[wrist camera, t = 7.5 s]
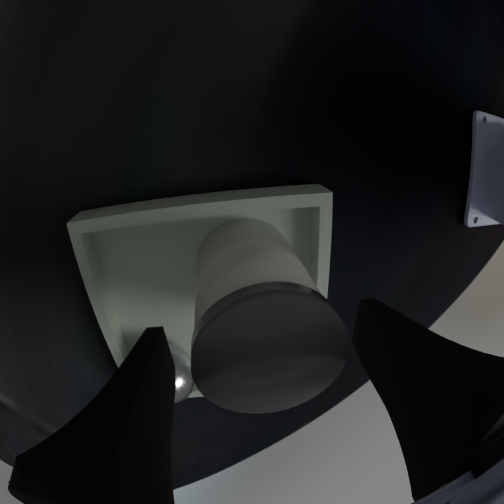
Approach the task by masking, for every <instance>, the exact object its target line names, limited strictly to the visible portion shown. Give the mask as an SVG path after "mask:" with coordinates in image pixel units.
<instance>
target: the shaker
mask: <svg viewBox="0 0 504 504" xmlns="http://www.w3.org/2000/svg"><path fill="white" fill-rule="evenodd" d="M349 350H350V339H349V334H348V331H347V329H346V327H345V325H344V323H343V322H342V320H341V319H340V317H339V315H338V314H337V312H336V311H335V309H334V308H333V306H332V305H331V303H330V302H329V301H328V300H327V299H326V298H325V297H324V296H323V295H322V294H321V293H320V291H319V289H318V288H317V286H316V285H315V283H314V281H313V280H312V278H311V277H310V275H309V274H308V272H307V270H306V269H305V267H304V266H303V264H302V263H301V261H300V260H299V258H298V256H297V255H296V253H295V252H294V250H293V249H292V247H291V246H290V244H289V243H288V241H287V239H286V238H285V237H284V235H283V234H282V233H281V232H280V231H279V230H278V229H277V228H275V227H274V226H272V225H271V224H269V223H267V222H264V221H261V220H257V219H237V220H233V221H229V222H227V223H224V224H222V225H221V226H219V227H217V228H216V229H214V230H213V231H212V232H211V233H210V234H209V235H208V236H207V237H206V238H205V240H204V241H203V243H202V245H201V246H200V249H199V251H198V255H197V261H196V283H195V318H194V332H193V335H192V340H191V375H192V379H193V381H194V384H195V385H196V387H197V389H198V390H199V391H200V393H201V394H202V395H203V396H204V397H206V398H207V399H208V400H209V401H211V402H212V403H214V404H216V405H218V406H220V407H222V408H225V409H228V410H232V411H236V412H242V413H254V414H255V413H270V412H276V411H281V410H285V409H288V408H291V407H294V406H297V405H299V404H302V403H304V402H306V401H308V400H310V399H311V398H313V397H315V396H316V395H318V394H319V393H321V392H322V391H323V390H325V389H326V388H327V387H328V386H329V385H330V384H331V383H332V382H333V381H334V380H335V379H336V378H337V376H338V375H339V374H340V372H341V371H342V369H343V368H344V366H345V364H346V361H347V358H348V355H349Z"/></svg>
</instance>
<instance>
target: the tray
mask: <svg viewBox="0 0 504 504" xmlns="http://www.w3.org/2000/svg"><path fill="white" fill-rule="evenodd" d="M332 205H333V192H331V191H330V190H328V189H326V188H325V187H323V186H322V185H320V184H308V185H291V186H277V187H264V188H252V189H241V190H230V191H221V192H211V193H202V194H193V195H185V196H177V197H169V198H162V199H154V200H147V201H140V202H134V203H127V204H121V205H114V206H108V207H102V208H97V209H91V210H85V211H81V212H79V213H78V214H77V215H76V216H74V217H73V218H72V219H71V220H70V221H69V222H67V227H68V231H69V235H70V239H71V242H72V246H73V249H74V253H75V256H76V260H77V263H78V266H79V269H80V273H81V276H82V279H83V282H84V285H85V288H86V291H87V293H88V296H89V299H90V302H91V305H92V307H93V310H94V312H95V315H96V318H97V320H98V323H99V325H100V328H101V330H102V333H103V335H104V337H105V340H106V342H107V344H108V347H109V349H110V351H111V353H112V356H113V358H114V360H115V362H116V364H117V366H118V368H119V366H120V365H121V364H122V362H123V361H124V359H125V358H126V357H127V355H128V354H129V352H130V351H131V349H132V348H133V346H134V345H135V344H136V342H137V341H138V339H139V338H140V336H141V335H142V333H143V332H144V330H145V329H146V328H147V327H159V326H163V328H164V331H165V335H166V338H167V341H168V344H172V345H176V346H178V347H180V348H182V349H183V350H185V351H186V352H187V353H188V354H189V355H190V357H191V340H192V335H193V332H194V318H195V283H196V261H197V255H198V251H199V249H200V246H201V245H202V243H203V241H204V240H205V238H206V237H207V236H208V235H209V234H210V233H211V232H212V231H213V230H214V229H216V228H217V227H219V226H221V225H222V224H224V223H227V222H229V221H233V220H237V219H257V220H261V221H264V222H267V223H269V224H271V225H272V226H274V227H275V228H277V229H278V230H279V231H280V232H281V233H282V234H283V235H284V237H285V238H286V239H287V241H288V243H289V244H290V246H291V247H292V249H293V250H294V252H295V253H296V255H297V256H298V258H299V260H300V261H301V263H302V264H303V266H304V267H305V269H306V270H307V272H308V274H309V275H310V277H311V278H312V280H313V281H314V283H315V285H316V286H317V288H318V289H319V291H320V293H321V294H322V295H323V296H324V297H325V298H326V299H327V292H328V280H329V266H330V251H331V232H332ZM202 396H203V395H202V394H201V393H200V391H199V390H198V389H197V387H196V385H195V388H194V390H193V391H192V393H191V394H190V395H189V396H188V397H187V398H189V397H202Z"/></svg>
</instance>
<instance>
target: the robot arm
mask: <svg viewBox="0 0 504 504" xmlns="http://www.w3.org/2000/svg"><path fill="white" fill-rule="evenodd" d="M464 224H465V225H466V226H468V227H475V226H484V225H493V224H503V225H504V119H503V118H500V117H497V116H494V115H491V114H488V113H485V112H482V111H474V113H473V130H472V154H471V168H470V179H469V188H468V196H467V203H466V210H465V216H464ZM352 342H353V344H354V347H355V350H356V352H357V355H358V357H359V360H360V362H361V364H362V366H363V368H364V369H365V371H366V373H367V375H368V376H369V378H370V380H371V382H372V383H373V385H374V387H375V388H376V391H377V392H378V394H379V396H380V397H381V399H382V401H383V403H384V405H385V407H386V409H387V411H388V413H389V416H390V418H391V421H392V423H393V426H394V428H395V431H396V434H397V437H398V440H399V443H400V446H401V449H402V452H403V455H404V459H405V463H406V467H407V471H408V476H409V481H410V485H411V491H412V497H413V499H414V501H415V502H414V503H412V504H504V357H499V356H495V355H491V354H487V353H483V352H480V351H477V350H474V349H471V348H468V347H465V346H463V345H460V344H458V343H456V342H453V341H451V340H448V339H446V338H444V337H442V336H440V335H438V334H436V333H434V332H432V331H430V330H428V329H427V328H425V327H423V326H421V325H419V324H418V323H416V322H414V321H412V320H411V319H409V318H407V317H406V316H404V315H402V314H401V313H399V312H397V311H396V310H394V309H392V308H391V307H389V306H387V305H386V304H384V303H382V302H380V301H378V300H377V299H375V298H370V299H364V300H359V306H358V312H357V317H356V323H355V329H354V334H353V339H352ZM175 391H176V379H175V364H174V361H173V358H172V354H171V351H170V348H169V345H168V341H167V338H166V335H165V331H164V328H163V326H159V327H147V328H146V329H145V330H144V332H143V333H142V335H141V336H140V338H139V339H138V341H137V342H136V344H135V345H134V346H133V348H132V349H131V351H130V352H129V354H128V355H127V357H126V358H125V359H124V361H123V362H122V364H121V365H120V366H119V368H118V369H117V370H116V372H115V373H114V374H113V376H112V377H111V378H110V379H109V381H108V382H107V383H106V384H105V386H104V387H103V388H102V389H101V390H100V392H99V393H98V394H97V395H96V396H95V397H94V398H93V399H92V400H91V401H90V402H89V403H88V405H87V406H86V407H85V408H83V409H82V410H81V411H80V412H79V413H78V414H77V415H76V416H75V417H73V418H72V419H71V420H70V421H69V422H68V423H67V424H66V425H64V426H63V427H62V428H60V429H59V430H58V431H57V432H55V433H54V434H53V435H51V436H50V437H48V438H47V439H45V440H44V441H42V442H41V443H39V444H38V445H36V446H34V447H33V448H31V449H29V450H27V451H26V452H24V453H22V454H20V455H18V456H17V457H16V460H15V464H14V467H13V471H12V474H11V478H10V482H9V486H8V490H9V492H10V494H11V495H13V496H14V497H15V498H16V499H18V500H19V501H21V502H22V503H24V504H174V497H173V486H172V474H171V455H170V447H171V432H172V421H173V411H174V401H175Z"/></svg>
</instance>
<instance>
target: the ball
mask: <svg viewBox="0 0 504 504" xmlns="http://www.w3.org/2000/svg"><path fill="white" fill-rule="evenodd" d="M168 345H169V348H170V351H171V354H172V358H173V361H174V364H175V379H176V391H175V401H174V403H178V402H181V401H183V400H184V399H186V398H187V397H188V396H189V395H190V394H191V393H192V391H193V390H194V388H195V384H194V381H193V379H192V375H191V357H190V355H189V354H188V353H187V352H186V351H185V350H183V349H182V348H180V347H178V346H176V345H172V344H168Z"/></svg>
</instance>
